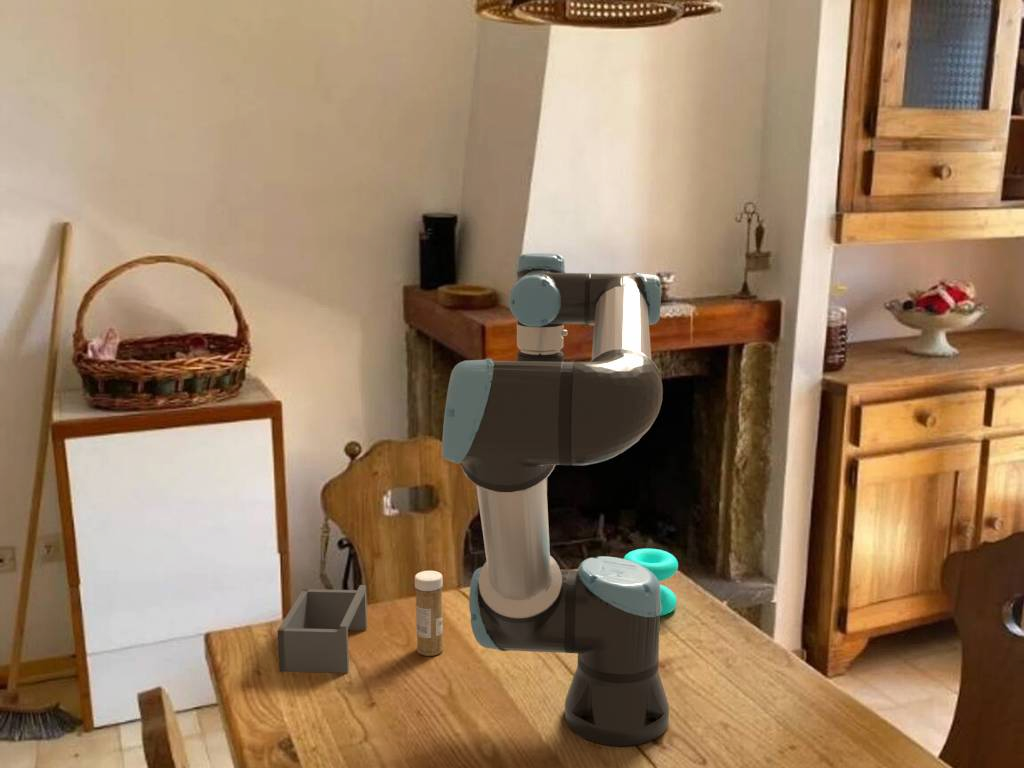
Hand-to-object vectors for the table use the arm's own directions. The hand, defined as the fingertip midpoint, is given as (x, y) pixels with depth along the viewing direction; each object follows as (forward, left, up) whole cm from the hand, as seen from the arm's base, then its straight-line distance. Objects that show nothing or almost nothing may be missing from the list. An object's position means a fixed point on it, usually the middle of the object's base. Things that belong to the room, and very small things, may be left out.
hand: (539, 476), depth 163 cm
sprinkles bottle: (-6, +18, -29) cm, 34 cm away
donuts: (+13, -20, -29) cm, 38 cm away
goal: (-6, +35, -29) cm, 46 cm away
